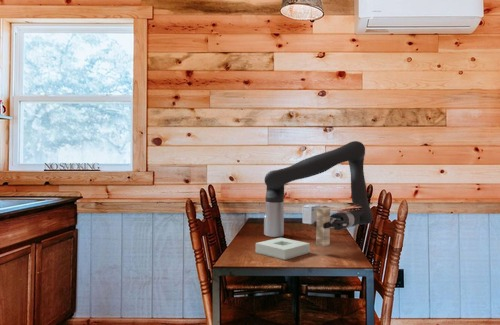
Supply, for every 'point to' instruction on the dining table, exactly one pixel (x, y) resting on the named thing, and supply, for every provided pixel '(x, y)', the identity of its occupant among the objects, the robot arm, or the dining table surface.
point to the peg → (322, 233)
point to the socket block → (282, 248)
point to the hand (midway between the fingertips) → (319, 225)
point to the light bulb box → (309, 213)
